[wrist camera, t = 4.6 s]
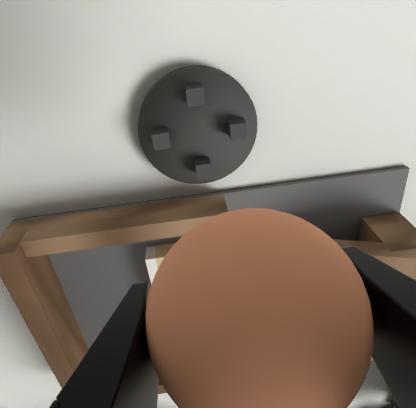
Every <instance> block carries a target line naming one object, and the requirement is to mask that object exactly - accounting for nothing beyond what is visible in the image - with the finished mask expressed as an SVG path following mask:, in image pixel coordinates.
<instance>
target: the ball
mask: <svg viewBox="0 0 416 408" xmlns="http://www.w3.org/2000/svg"><path fill="white" fill-rule="evenodd" d="M146 338H147V344H148V349H149V353H150V357H151V360H152V363H153V366H154V369H155V371H156V373H157V376H158V378H159V380H160V381H161V383H162V385H163V387H164V389H165V390H166V392H167V393H168V395H169V396H170V397H171V399H172V400H173V401H174V402H175V404H176V405H177V406H178V407H179V408H347V407H348V406H349V405H350V403H351V402H352V400H353V399H354V397H355V396H356V394H357V392H358V391H359V389H360V387H361V385H362V383H363V381H364V379H365V376H366V373H367V370H368V367H369V364H370V360H371V354H372V348H373V338H374V333H373V317H372V311H371V305H370V300H369V297H368V294H367V292H366V289H365V286H364V283H363V281H362V278H361V276H360V275H359V273H358V271H357V269H356V268H355V266H354V264H353V263H352V261H351V259H350V258H349V257H348V256H347V254H346V253H345V252H344V251H343V250H342V248H341V247H340V246H339V245H338V244H337V243H336V242H335V241H334V240H333V239H332V238H330V237H329V236H328V235H327V234H326V233H324V232H323V231H322V230H321V229H319V228H318V227H316V226H314V225H312V224H311V223H309V222H307V221H305V220H303V219H302V218H299V217H297V216H294V215H292V214H288V213H285V212H281V211H277V210H272V209H264V208H247V209H238V210H233V211H229V212H225V213H222V214H219V215H216V216H213V217H211V218H209V219H207V220H205V221H203V222H201V223H199V224H198V225H196V226H194V227H193V228H192V229H190V230H189V231H188V232H187V233H185V234H184V235H183V236H182V237H181V238H180V239H179V240H178V241H177V242H176V243H175V244H174V245H173V246H172V247H171V249H170V250H169V251H168V253H167V254H166V256H165V257H164V259H163V260H162V262H161V264H160V266H159V268H158V270H157V272H156V273H155V276H154V279H153V282H152V285H151V288H150V291H149V295H148V301H147V308H146Z"/></svg>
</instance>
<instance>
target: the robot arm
mask: <svg viewBox="0 0 416 408" xmlns="http://www.w3.org/2000/svg"><path fill="white" fill-rule="evenodd" d="M341 248H342V250H343V251H344V252H345V253H346V254H347V256H348V257H349V258H350V259H351V261H352V263H353V264H354V266H355V268H356V269H357V271H358V273H359V275H360V276H361V278H362V281H363V283H364V286H365V289H366V292H367V294H368V297H369V300H370V305H371V311H372V317H373V333H374V338H373V348H372V354H371V356H372V358H373V360H374V362H375V364H376V365H377V367H378V369H379V371H380V373H381V375H382V376H383V378H384V380H385V382H386V384H387V386H388V387H389V389H390V391H391V393H392V395H393V399H392V402H391V405H392V406H393V408H416V280H415V279H413V278H411V277H409V276H407V275H406V274H404V273H402V272H400V271H398V270H397V269H395V268H393V267H391V266H389V265H388V264H386V263H384V262H382V261H380V260H379V259H377V258H375V257H373V256H371V255H370V254H368V253H366V252H364V251H362V250H361V249H359V248H357V247H355V246H346V247H341ZM150 288H151V287H150V284H149V282H147V281H145V282H139V283H134V284H133V285H132V286H131V287H130V288H129V290H128V291H127V293H126V294H125V296H124V297H123V299H122V300H121V302H120V303H119V305H118V306H117V308H116V309H115V311H114V312H113V314H112V315H111V317H110V318H109V320H108V321H107V323H106V324H105V326H104V327H103V329H102V330H101V332H100V333H99V335H98V336H97V338H96V339H95V341H94V342H93V343H92V345H91V346H90V348H89V349H88V351H87V352H86V354H85V355H84V357H83V358H82V360H81V361H80V363H79V364H78V366H77V367H76V369H75V370H74V372H73V373H72V375H71V376H70V378H69V379H68V381H67V382H66V384H65V385H64V387H63V388H62V390H61V391H60V393H59V394H58V396H57V397H56V399H57V400H54V401H53V403H52V404H51V406H50V407H49V408H157V398H158V383H159V378H158V376H157V373H156V371H155V369H154V366H153V363H152V360H151V357H150V353H149V349H148V344H147V338H146V308H147V301H148V295H149V291H150Z"/></svg>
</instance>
